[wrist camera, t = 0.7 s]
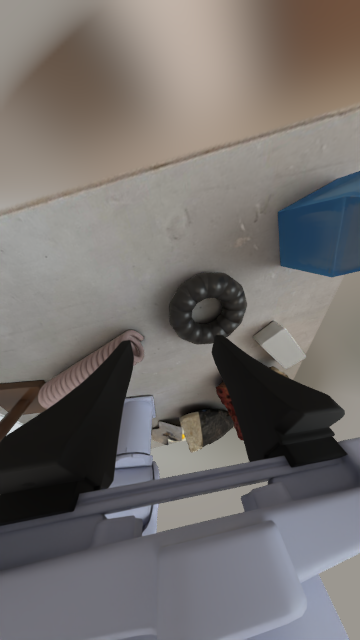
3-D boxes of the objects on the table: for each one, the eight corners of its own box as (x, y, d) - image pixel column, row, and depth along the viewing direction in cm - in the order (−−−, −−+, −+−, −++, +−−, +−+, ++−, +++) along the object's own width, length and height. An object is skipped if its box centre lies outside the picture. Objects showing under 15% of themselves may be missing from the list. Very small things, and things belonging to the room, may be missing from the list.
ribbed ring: (229, 333, 23) (238, 345, 20) (169, 337, 21) (170, 350, 19) (247, 270, 17) (262, 275, 15) (168, 270, 16) (169, 275, 13)
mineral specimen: (177, 439, 28) (248, 428, 27) (176, 403, 34) (234, 393, 33) (188, 458, 34) (246, 449, 33) (186, 424, 41) (234, 416, 40)
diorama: (165, 415, 34) (167, 408, 36) (144, 434, 39) (147, 427, 40) (190, 435, 34) (191, 427, 36) (166, 452, 38) (168, 444, 40)
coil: (60, 414, 21) (149, 364, 18) (25, 407, 18) (123, 347, 15) (73, 385, 25) (149, 340, 21) (46, 376, 22) (128, 322, 19)
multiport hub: (260, 345, 22) (252, 336, 24) (285, 369, 26) (276, 360, 28) (285, 327, 20) (274, 320, 22) (306, 356, 25) (296, 348, 27)
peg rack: (63, 404, 27) (37, 448, 21) (18, 409, 26) (-21, 456, 20) (43, 379, 23) (4, 426, 17) (-11, 384, 22) (-71, 435, 16)
